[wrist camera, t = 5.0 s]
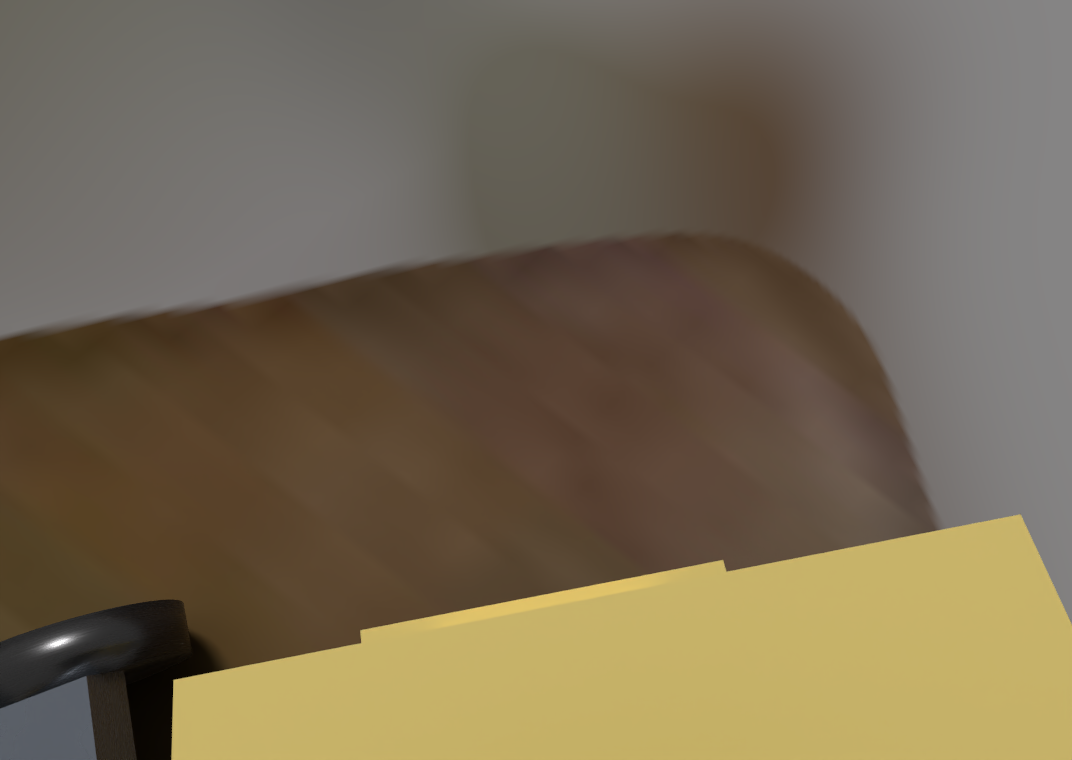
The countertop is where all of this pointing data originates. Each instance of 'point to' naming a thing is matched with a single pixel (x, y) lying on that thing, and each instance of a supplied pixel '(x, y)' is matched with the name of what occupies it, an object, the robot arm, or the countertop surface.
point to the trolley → (84, 680)
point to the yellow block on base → (688, 668)
